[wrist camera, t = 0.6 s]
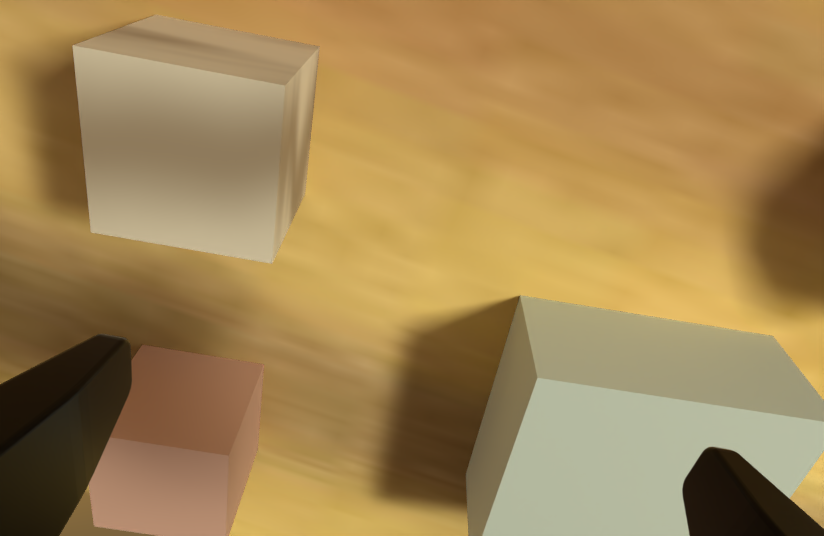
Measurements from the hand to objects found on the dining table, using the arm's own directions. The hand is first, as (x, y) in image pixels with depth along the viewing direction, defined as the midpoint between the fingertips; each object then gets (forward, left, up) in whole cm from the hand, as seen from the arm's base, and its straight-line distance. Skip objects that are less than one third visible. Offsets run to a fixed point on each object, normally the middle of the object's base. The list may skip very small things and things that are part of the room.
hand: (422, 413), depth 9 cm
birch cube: (0, +6, -13) cm, 14 cm away
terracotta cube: (-13, +7, -13) cm, 20 cm away
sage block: (-10, -10, -13) cm, 19 cm away
